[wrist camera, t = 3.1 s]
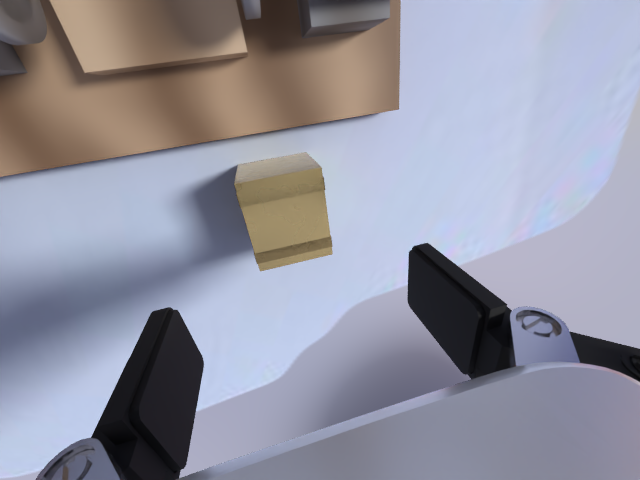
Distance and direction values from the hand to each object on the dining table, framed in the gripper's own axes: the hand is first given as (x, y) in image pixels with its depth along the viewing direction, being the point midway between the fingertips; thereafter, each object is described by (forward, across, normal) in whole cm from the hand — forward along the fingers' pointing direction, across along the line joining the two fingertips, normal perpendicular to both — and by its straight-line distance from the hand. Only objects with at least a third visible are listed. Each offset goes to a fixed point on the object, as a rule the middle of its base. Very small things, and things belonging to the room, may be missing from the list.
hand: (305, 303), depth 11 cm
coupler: (+12, 0, -1) cm, 12 cm away
